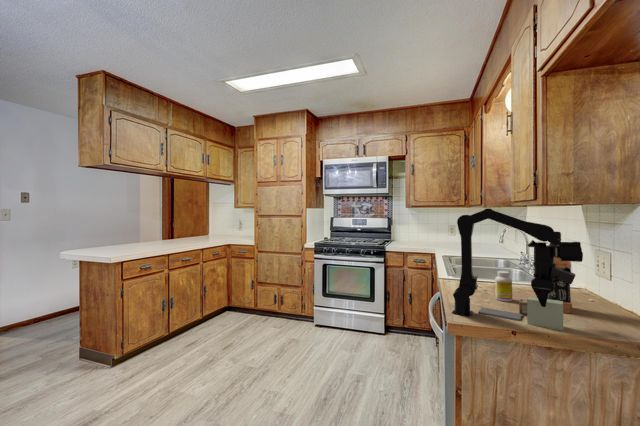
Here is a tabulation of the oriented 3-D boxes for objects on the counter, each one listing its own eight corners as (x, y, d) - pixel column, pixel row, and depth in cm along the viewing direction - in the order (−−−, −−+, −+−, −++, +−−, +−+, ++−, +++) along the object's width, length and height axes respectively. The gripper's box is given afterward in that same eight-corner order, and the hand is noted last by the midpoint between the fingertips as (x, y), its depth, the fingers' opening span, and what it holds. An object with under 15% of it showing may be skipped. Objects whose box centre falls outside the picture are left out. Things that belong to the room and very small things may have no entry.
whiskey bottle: (572, 314, 116) (571, 232, 116) (541, 309, 123) (539, 232, 123) (571, 307, 125) (570, 231, 124) (542, 303, 131) (540, 230, 131)
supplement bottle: (515, 302, 133) (514, 273, 133) (498, 301, 134) (498, 273, 134) (508, 298, 139) (508, 270, 139) (493, 297, 140) (492, 270, 140)
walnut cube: (534, 317, 114) (534, 304, 114) (519, 314, 117) (519, 301, 117) (536, 313, 118) (535, 300, 118) (521, 311, 121) (520, 298, 121)
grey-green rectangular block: (563, 330, 101) (562, 304, 101) (527, 324, 108) (527, 299, 108) (563, 326, 105) (562, 301, 105) (528, 320, 111) (528, 296, 111)
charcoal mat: (519, 320, 110) (519, 319, 110) (478, 313, 120) (478, 311, 120) (522, 315, 116) (522, 314, 116) (482, 308, 125) (482, 307, 125)
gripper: (573, 266, 94) (574, 315, 94) (573, 258, 108) (573, 301, 108) (530, 262, 101) (531, 308, 101) (535, 255, 115) (536, 296, 115)
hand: (544, 303), depth 106 cm, fingers open, 9 cm apart
